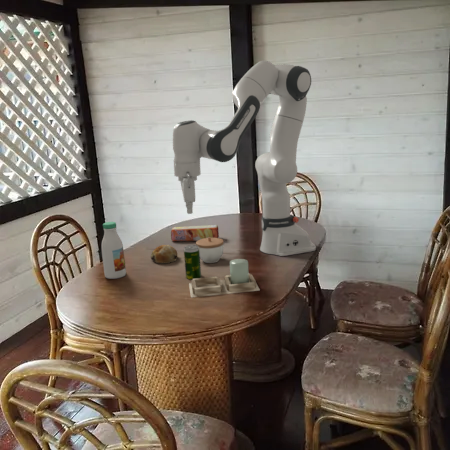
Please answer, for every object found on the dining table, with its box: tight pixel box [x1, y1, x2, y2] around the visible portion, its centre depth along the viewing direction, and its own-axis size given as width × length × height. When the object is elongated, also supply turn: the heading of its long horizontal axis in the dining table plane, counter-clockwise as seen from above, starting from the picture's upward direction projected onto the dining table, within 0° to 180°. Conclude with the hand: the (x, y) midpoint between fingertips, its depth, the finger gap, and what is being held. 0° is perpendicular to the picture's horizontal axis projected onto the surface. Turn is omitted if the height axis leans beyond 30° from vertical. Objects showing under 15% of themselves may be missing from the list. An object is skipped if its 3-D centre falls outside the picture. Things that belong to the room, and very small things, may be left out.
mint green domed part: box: [229, 258, 249, 284], centre depth 154 cm, size 6×6×8 cm
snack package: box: [170, 224, 220, 242], centre depth 213 cm, size 21×7×7 cm, turn 84°
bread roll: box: [150, 244, 178, 264], centre depth 188 cm, size 10×10×8 cm
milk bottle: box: [101, 221, 127, 280], centre depth 172 cm, size 8×8×20 cm
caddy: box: [188, 273, 261, 298], centre depth 155 cm, size 22×12×3 cm, turn 97°
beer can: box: [183, 244, 202, 280], centre depth 164 cm, size 5×5×12 cm
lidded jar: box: [195, 237, 225, 264], centre depth 184 cm, size 11×11×9 cm
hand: (189, 210), depth 163 cm, fingers open, 8 cm apart
